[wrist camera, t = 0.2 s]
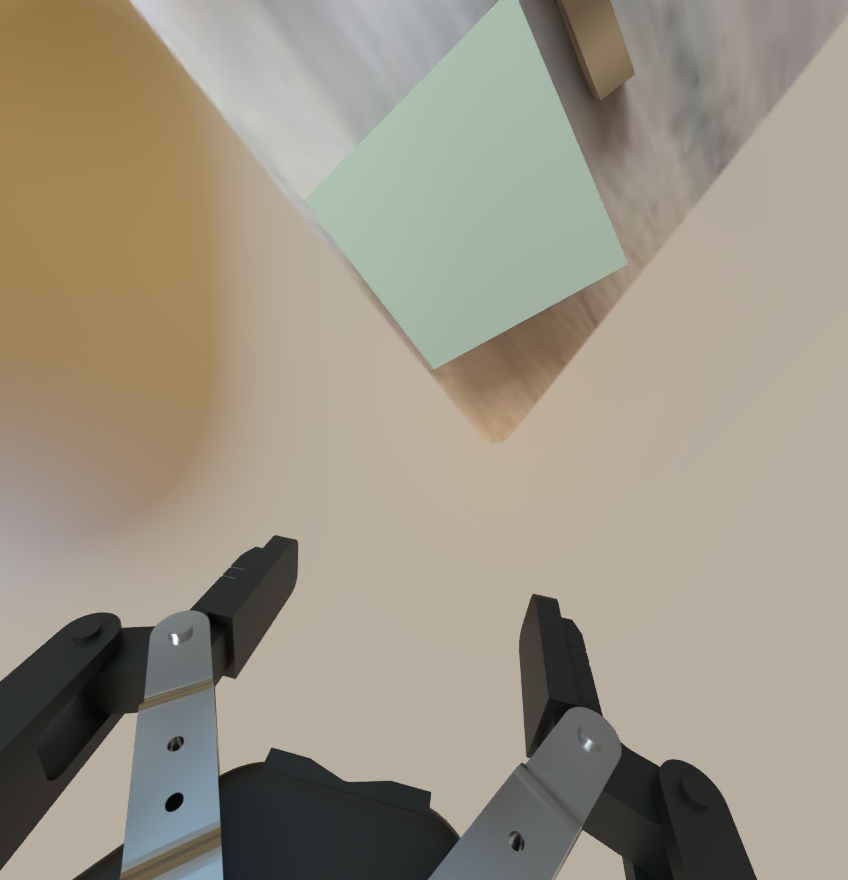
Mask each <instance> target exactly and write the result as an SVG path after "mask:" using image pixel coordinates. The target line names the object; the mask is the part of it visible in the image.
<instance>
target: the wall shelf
mask: <svg viewBox="0 0 848 880" xmlns="http://www.w3.org/2000/svg"><path fill="white" fill-rule="evenodd" d="M304 202H305V204H306V205H307V206H308V208H309V209H310V210H311V211H312V213H313V214H314V215H315V217H316V218H317V219H318V220H319V222H320V223H321V224H322V226H323V227H324V228H325V230H326V231H327V232H328V233H329V235H330V236H331V237H332V239H333V240H334V241H335V243H336V244H337V245H338V246H339V248H340V249H341V250H342V252H343V253H344V254H345V255H346V257H347V258H348V259H349V261H350V262H351V263H352V265H353V266H354V267H355V268H356V270H357V271H358V272H359V274H360V275H361V276H362V278H363V279H364V280H365V281H366V283H367V284H368V285H369V287H370V288H371V289H372V290H373V292H374V293H375V294H376V296H377V297H378V298H379V300H380V301H381V302H382V303H383V305H384V306H385V307H386V309H387V310H388V311H389V313H390V314H391V315H392V316H393V318H394V319H395V320H396V322H397V323H398V324H399V325H400V327H401V328H402V329H403V331H404V332H405V333H406V335H407V336H408V337H409V338H410V340H411V341H412V342H413V344H414V345H415V346H416V348H417V349H418V350H419V351H420V353H421V354H422V355H423V357H424V358H425V359H426V360H427V362H428V363H429V364H430V366H431V367H432V368H433V370H434V369H436V368H438V367H440V366H442V365H444V364H445V363H447V362H449V361H451V360H453V359H455V358H456V357H458V356H460V355H462V354H464V353H466V352H467V351H469V350H471V349H473V348H475V347H477V346H479V345H480V344H482V343H484V342H486V341H488V340H490V339H491V338H493V337H495V336H497V335H499V334H501V333H502V332H504V331H506V330H508V329H510V328H512V327H513V326H515V325H517V324H519V323H521V322H523V321H524V320H526V319H528V318H530V317H532V316H534V315H536V314H537V313H539V312H541V311H543V310H545V309H547V308H548V307H550V306H552V305H554V304H556V303H558V302H559V301H561V300H563V299H565V298H567V297H569V296H570V295H572V294H574V293H576V292H578V291H580V290H581V289H583V288H585V287H587V286H589V285H591V284H592V283H594V282H596V281H598V280H600V279H602V278H604V277H605V276H607V275H609V274H611V273H613V272H615V271H616V270H618V269H620V268H622V267H624V266H626V265H627V264H628V262H627V260H626V257H625V255H624V252H623V250H622V248H621V245H620V243H619V240H618V238H617V236H616V233H615V231H614V228H613V226H612V224H611V221H610V219H609V216H608V214H607V212H606V209H605V207H604V204H603V202H602V200H601V197H600V195H599V192H598V190H597V188H596V185H595V183H594V181H593V178H592V176H591V173H590V171H589V169H588V166H587V164H586V161H585V159H584V157H583V154H582V152H581V149H580V147H579V145H578V142H577V140H576V137H575V135H574V133H573V130H572V128H571V125H570V123H569V121H568V118H567V116H566V113H565V111H564V109H563V106H562V104H561V101H560V99H559V97H558V94H557V92H556V89H555V87H554V85H553V82H552V80H551V77H550V75H549V73H548V70H547V68H546V65H545V63H544V61H543V58H542V56H541V54H540V51H539V49H538V46H537V44H536V42H535V39H534V37H533V34H532V32H531V30H530V27H529V25H528V22H527V20H526V18H525V15H524V13H523V10H522V8H521V6H520V3H519V1H518V0H499V1H498V2H497V3H496V4H495V5H494V6H493V7H492V8H491V9H490V10H489V11H488V12H487V13H486V14H485V15H484V16H483V17H482V18H481V19H480V20H479V21H478V22H477V23H476V24H475V25H474V27H473V28H472V29H471V30H470V31H469V32H468V33H467V34H466V35H465V36H464V37H463V38H462V39H461V40H460V41H459V42H458V43H457V44H456V45H455V46H454V47H453V48H452V49H451V50H450V51H449V52H448V53H447V54H446V55H445V56H444V57H443V58H442V59H441V60H440V61H439V62H438V63H437V64H436V65H435V67H434V68H433V69H432V70H431V71H430V72H429V73H428V74H427V75H426V76H425V77H424V78H423V79H422V80H421V81H420V82H419V83H418V84H417V85H416V86H415V87H414V88H413V89H412V90H411V91H410V92H409V93H408V94H407V95H406V96H405V97H404V98H403V99H402V100H401V101H400V102H399V103H398V104H397V105H396V107H395V108H394V109H393V110H392V111H391V112H390V113H389V114H388V115H387V116H386V117H385V118H384V119H383V120H382V121H381V122H380V123H379V124H378V125H377V126H376V127H375V128H374V129H373V130H372V131H371V132H370V133H369V134H368V135H367V136H366V137H365V138H364V139H363V140H362V141H361V142H360V143H359V144H358V146H357V147H356V148H355V149H354V150H353V151H352V152H351V153H350V154H349V155H348V156H347V157H346V158H345V159H344V160H343V161H342V162H341V163H340V164H339V165H338V166H337V167H336V168H335V169H334V170H333V171H332V172H331V173H330V174H329V175H328V176H327V177H326V178H325V179H324V180H323V181H322V182H321V183H320V184H319V186H318V187H317V188H316V189H315V190H314V191H313V192H312V193H311V194H310V195H309V196H308V197H307V198H306V199H305V200H304Z"/></svg>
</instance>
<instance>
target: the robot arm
mask: <svg viewBox="0 0 848 880" xmlns="http://www.w3.org/2000/svg"><path fill="white" fill-rule="evenodd" d="M297 565H298V541H297V540H295V539H290V538H286V537H281V536H277V535H275V536H273V537H272V539H271V540H270V541H269V542H268V543H267V544H266V545H265V546H264V548H259V547H254V548H253V549H251V550H249V551H247V552H245V553H244V554H242V555H241V556H240V557H239V558H238V559H237V560H236V561H235V562H234V563H233V564H232V565H231V568H229V569H228V570H227V571H226V572H225V573H224V574H223V576H222V577H220V578H219V579H218V580H217V581H216V582H215V584H214V585H213V586H212V587H211V588H210V589H209V590H208V591H207V592H206V593H205V594H204V595H203V596H202V597H201V598H200V600H199V601H198V602H197V603H196V604H195V605H194V606H193V607H192V608H191V609H190V610H189V611H182V612H178V613H175V614H172V615H170V616H168V617H166V618H165V619H163V620H162V621H161V622H159V623H158V624H157V625H156V626H152V627H131V628H122V627H121V622H120V619H119V618H118V617H117V616H116V615H114V614H111V613H94V614H90V615H86V616H83V617H81V618H78V619H76V620H74V621H72V622H71V623H69V624H68V625H66V626H65V627H63V628H62V629H61V630H60V631H59V632H58V633H56V634H55V635H54V636H53V637H52V638H51V639H49V640H48V641H47V642H46V643H45V644H44V645H42V646H41V647H40V648H39V649H38V650H37V651H36V652H34V653H33V654H32V655H31V656H30V657H28V658H27V659H26V660H25V661H24V662H23V663H22V664H20V665H19V666H18V667H17V668H16V669H14V670H13V671H12V672H11V673H10V674H9V675H8V676H6V677H5V678H4V679H3V680H2V681H0V870H1V869H2V868H3V866H4V865H5V864H6V863H7V861H8V860H9V859H10V858H11V856H12V855H13V854H14V853H15V851H16V850H17V849H18V848H19V846H20V845H21V844H22V843H23V841H24V840H25V839H26V837H27V836H28V835H29V834H30V832H31V831H32V830H33V829H34V827H35V826H36V825H37V823H38V822H39V821H40V820H41V819H42V817H43V816H44V815H45V814H46V812H47V811H48V810H49V808H50V807H51V806H52V805H53V803H54V802H55V801H56V800H57V798H58V797H59V796H60V794H61V793H62V792H63V791H64V790H65V788H66V787H67V786H68V784H69V783H70V782H71V781H72V779H73V778H74V777H75V775H76V774H77V773H78V772H79V770H80V769H81V768H82V767H83V766H84V764H85V763H86V761H87V760H88V759H89V758H90V756H91V755H92V754H93V753H94V752H95V750H96V749H97V748H98V747H99V745H100V744H101V743H102V742H103V740H104V739H105V738H106V736H107V735H108V734H109V733H110V731H111V730H112V729H113V728H114V726H115V725H116V724H117V723H118V721H119V720H120V719H121V718H122V716H123V715H124V714H125V713H138V716H137V725H136V734H135V744H134V754H133V763H132V773H131V782H130V792H129V803H128V811H127V821H126V831H125V840H124V843H123V844H122V845H121V846H119V847H118V848H116V849H115V850H113V851H112V852H111V853H109V854H108V855H107V856H105V857H104V858H102V859H101V860H99V861H98V862H97V863H95V864H94V865H92V866H91V867H90V868H88V869H87V870H85V871H84V872H83V873H81V874H80V875H78V876H77V877H76V878H74V879H73V880H555V879H556V877H557V875H558V874H559V872H560V870H561V868H562V866H563V865H564V863H565V861H566V859H567V857H568V855H569V854H570V852H571V850H572V848H573V847H574V844H575V843H576V841H577V839H578V838H579V836H580V834H581V832H582V830H584V831H585V832H587V833H588V834H590V835H591V836H593V837H594V838H596V839H597V840H599V841H600V842H602V843H603V844H605V845H606V846H608V847H609V848H610V849H612V850H613V851H615V852H617V853H618V854H619V855H621V856H622V858H623V864H624V870H625V876H626V880H757V878H756V876H755V874H754V871H753V868H752V866H751V863H750V861H749V858H748V856H747V853H746V851H745V848H744V846H743V843H742V841H741V838H740V836H739V833H738V831H737V828H736V826H735V823H734V821H733V818H732V816H731V813H730V811H729V808H728V806H727V803H726V801H725V799H724V797H723V796H722V794H721V792H720V791H719V790H718V788H717V787H716V785H715V784H714V783H713V782H712V781H711V780H710V779H709V778H708V777H707V776H706V775H705V774H704V773H702V772H701V771H700V770H699V769H697V768H696V767H694V766H693V765H691V764H689V763H687V762H684V761H681V760H674V759H672V760H667V761H665V762H664V763H663V764H662V765H661V767H659V766H658V765H656V764H654V763H652V762H651V761H649V760H647V759H645V758H644V757H642V756H640V755H638V754H636V753H635V752H633V751H632V750H630V749H629V748H627V747H626V746H625V745H623V744H622V743H621V742H620V740H619V737H618V735H617V733H616V731H615V730H614V728H613V727H612V726H611V725H610V723H608V721H607V720H605V718H603V715H602V712H601V708H600V704H599V700H598V696H597V692H596V688H595V684H594V680H593V676H592V672H591V668H590V666H589V660H588V656H587V653H586V648H585V644H584V640H583V636H582V634H581V632H580V631H579V629H578V628H577V626H576V625H575V623H574V622H573V620H570V619H566V618H562V617H561V614H560V609H559V604H558V601H557V599H554V598H550V597H545V596H541V595H536V594H533V595H532V597H531V599H530V603H529V606H528V609H527V612H526V615H525V619H524V622H523V625H522V629H521V633H520V641H519V654H520V669H521V682H522V683H521V684H522V698H523V712H524V728H525V743H526V756H527V757H528V758H530V760H529V761H528V762H527V763H526V764H525V765H524V764H523V763H521V764H520V765H519V766H518V767H517V768H516V769H515V770H514V772H513V773H512V774H511V775H510V776H509V778H508V779H507V780H506V782H505V783H504V784H503V785H502V786H501V788H500V789H499V790H498V792H497V793H496V794H495V795H494V797H493V798H492V799H491V801H490V802H489V803H488V804H487V806H486V807H485V808H484V809H483V811H482V812H481V813H480V814H479V816H478V817H477V818H476V819H475V821H474V822H473V823H472V825H471V826H470V827H469V828H468V830H467V831H466V832H465V833H464V835H463V836H462V837H461V838H460V837H459V835H458V834H457V832H456V831H455V830H454V828H453V827H452V826H451V825H450V824H449V823H448V822H447V821H446V820H445V819H444V818H443V817H442V816H441V815H439V814H438V813H437V812H436V811H434V810H432V809H431V808H430V799H431V792H429V791H425V790H422V789H418V788H415V787H411V786H407V785H403V784H400V783H397V782H393V781H371V782H346V781H343V780H342V779H340V778H339V777H337V776H336V775H334V774H333V773H331V772H330V771H328V770H327V769H325V768H324V767H322V766H321V765H319V764H318V763H316V762H315V761H313V760H312V759H310V758H307V757H303V756H300V755H296V754H293V753H289V752H285V751H282V750H279V749H275V748H271V750H270V752H269V754H268V756H267V758H266V760H265V762H257V763H251V764H247V765H244V766H240V767H237V768H235V769H232V770H230V771H228V772H226V773H224V774H222V775H220V761H219V747H218V731H217V716H216V715H217V714H216V697H215V686H216V684H217V683H218V682H219V680H220V679H221V677H222V676H227V677H231V678H234V679H236V678H237V676H238V674H239V673H240V671H241V670H242V668H243V667H244V665H245V664H246V662H247V661H248V659H249V658H250V656H251V655H252V653H253V652H254V650H255V648H256V647H257V646H258V644H259V643H260V641H261V639H262V638H263V636H264V635H265V633H266V632H267V630H268V629H269V627H270V626H271V624H272V622H273V621H274V620H275V618H276V616H277V615H278V613H279V612H280V610H281V609H282V607H283V606H284V604H285V603H286V601H287V600H288V598H289V597H290V595H291V594H292V592H293V589H294V587H295V584H296V580H297V570H298V566H297Z"/></svg>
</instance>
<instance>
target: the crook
mask: <svg viewBox="0 0 848 880" xmlns="http://www.w3.org/2000/svg"><path fill="white" fill-rule="evenodd" d="M555 2H556V5H557V7H558V10H559V12H560V15H561V17H562V20H563V23H564V25H565V28H566V30H567V33H568V36H569V38H570V41H571V43H572V46H573V48H574V51H575V54H576V56H577V59H578V61H579V64H580V67H581V69H582V72H583V74H584V77H585V79H586V82H587V85H588V87H589V90H590V92H591V95H592V97H593V99H596V100H599V101H601V100H602V99H603V98H605V97H606V96H607V95H609V94H610V93H611V92H612V91H614V90H615V89H616V88H618V87H619V86H620V85H621V84H623V83H624V82H625V81H627V80H628V79H629V78H630V77H632V76H633V75H634V74H635V73H634V70H633V67H632V64H631V61H630V58H629V55H628V52H627V49H626V46H625V43H624V40H623V37H622V35H621V32H620V29H619V26H618V23H617V20H616V17H615V14H614V11H613V8H612V5H611V2H610V0H555Z"/></svg>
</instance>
